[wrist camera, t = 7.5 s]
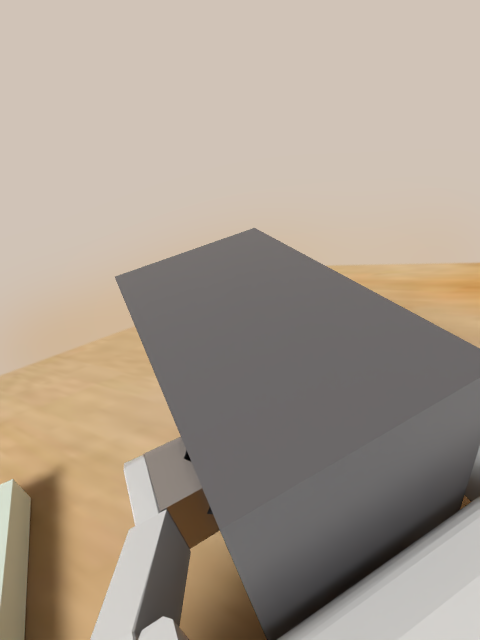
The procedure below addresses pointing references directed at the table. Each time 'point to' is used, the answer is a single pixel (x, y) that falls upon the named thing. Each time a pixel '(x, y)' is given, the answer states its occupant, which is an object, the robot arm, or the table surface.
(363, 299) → the block
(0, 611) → the pin board
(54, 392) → the table surface
